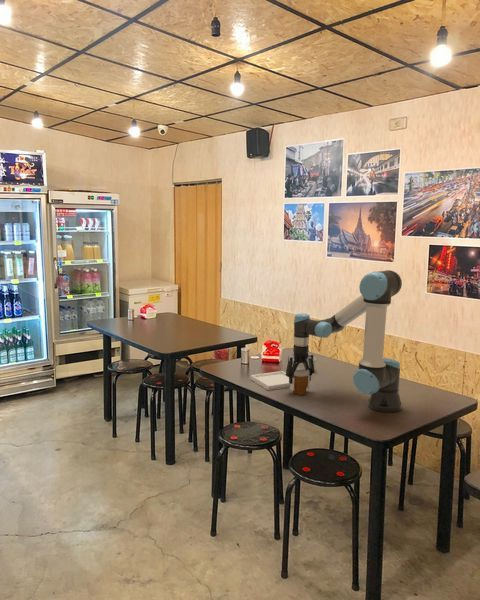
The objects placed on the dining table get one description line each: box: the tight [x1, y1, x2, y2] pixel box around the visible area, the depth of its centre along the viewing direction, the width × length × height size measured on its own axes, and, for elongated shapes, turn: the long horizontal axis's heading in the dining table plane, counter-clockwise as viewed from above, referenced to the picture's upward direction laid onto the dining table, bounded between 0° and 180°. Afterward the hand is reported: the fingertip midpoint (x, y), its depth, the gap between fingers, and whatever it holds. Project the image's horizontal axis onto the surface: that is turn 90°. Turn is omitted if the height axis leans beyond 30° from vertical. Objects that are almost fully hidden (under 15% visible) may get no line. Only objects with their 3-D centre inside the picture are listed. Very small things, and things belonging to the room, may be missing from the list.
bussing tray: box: [250, 370, 290, 392], centre depth 271 cm, size 20×20×2 cm
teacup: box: [292, 356, 317, 369], centre depth 292 cm, size 14×11×8 cm
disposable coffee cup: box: [292, 367, 310, 396], centre depth 255 cm, size 10×10×12 cm
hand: (299, 388), depth 256 cm, fingers closed on disposable coffee cup, 8 cm apart
